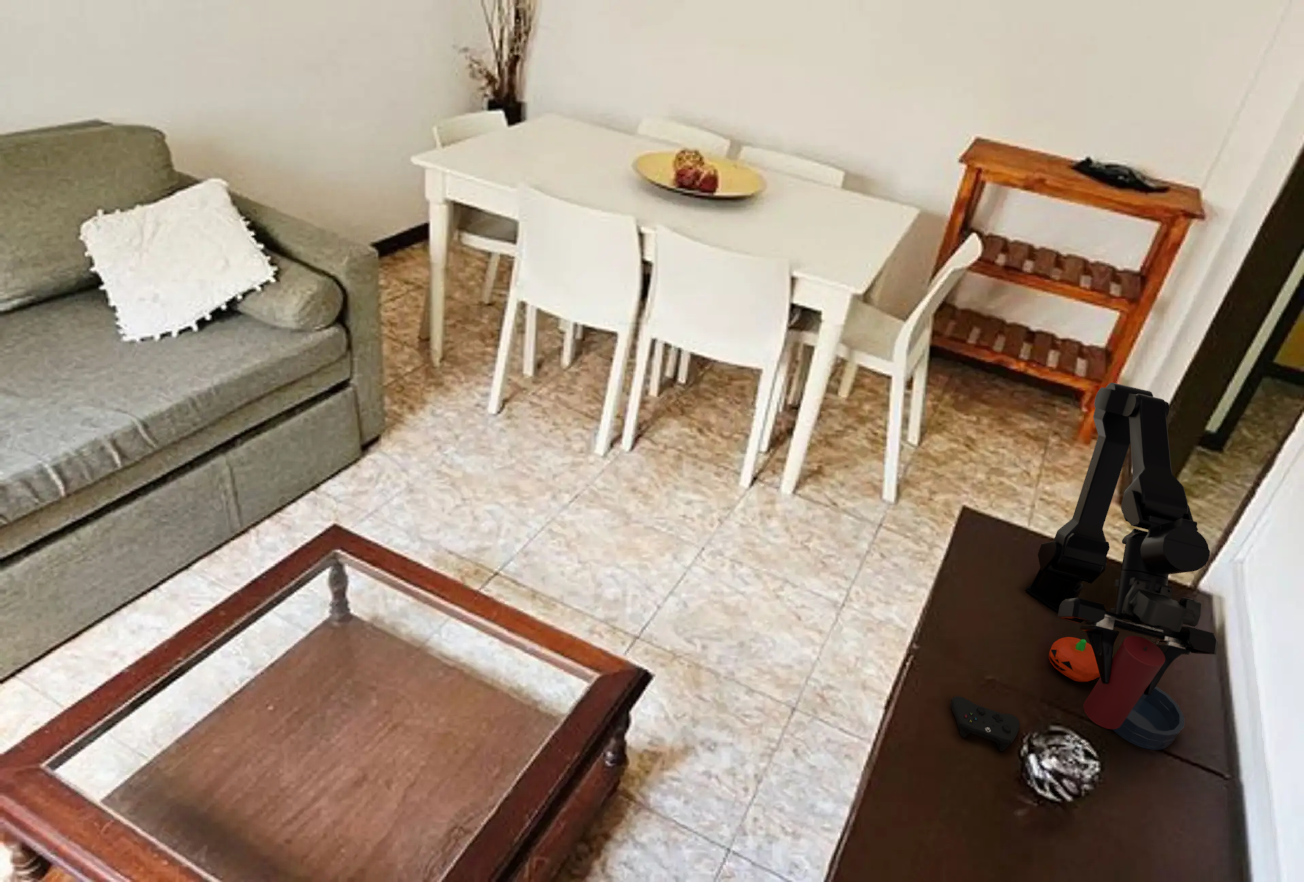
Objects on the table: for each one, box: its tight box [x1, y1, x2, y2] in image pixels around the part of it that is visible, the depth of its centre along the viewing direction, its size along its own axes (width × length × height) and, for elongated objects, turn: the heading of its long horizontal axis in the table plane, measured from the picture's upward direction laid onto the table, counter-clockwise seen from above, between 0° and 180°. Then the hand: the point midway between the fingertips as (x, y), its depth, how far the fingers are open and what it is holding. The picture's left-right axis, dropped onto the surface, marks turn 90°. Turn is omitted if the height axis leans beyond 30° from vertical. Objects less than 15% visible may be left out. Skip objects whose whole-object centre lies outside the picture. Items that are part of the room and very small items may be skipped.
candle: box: [1082, 635, 1165, 730], centre depth 118 cm, size 5×5×14 cm
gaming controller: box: [950, 695, 1021, 752], centre depth 124 cm, size 10×5×6 cm
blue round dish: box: [1111, 685, 1185, 751], centre depth 130 cm, size 11×11×4 cm
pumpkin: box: [1048, 636, 1100, 683], centre depth 136 cm, size 7×8×6 cm
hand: (1125, 689), depth 117 cm, fingers closed on candle, 5 cm apart
